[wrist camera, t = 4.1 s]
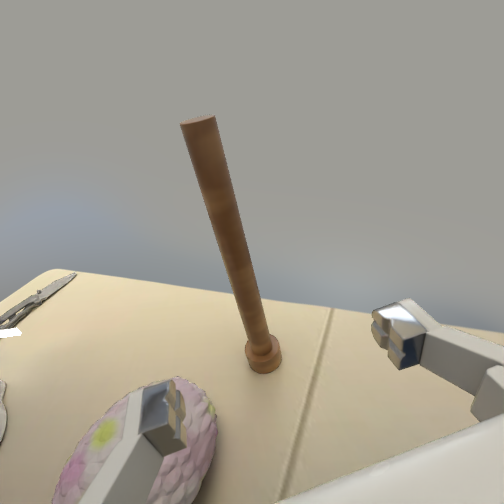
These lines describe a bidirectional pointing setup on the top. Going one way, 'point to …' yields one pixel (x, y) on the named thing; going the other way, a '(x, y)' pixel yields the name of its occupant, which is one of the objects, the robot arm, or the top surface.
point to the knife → (32, 302)
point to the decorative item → (173, 466)
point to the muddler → (230, 237)
